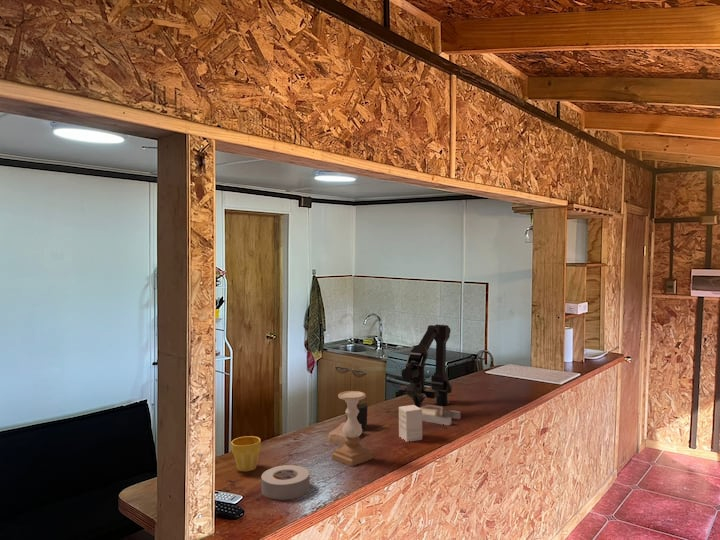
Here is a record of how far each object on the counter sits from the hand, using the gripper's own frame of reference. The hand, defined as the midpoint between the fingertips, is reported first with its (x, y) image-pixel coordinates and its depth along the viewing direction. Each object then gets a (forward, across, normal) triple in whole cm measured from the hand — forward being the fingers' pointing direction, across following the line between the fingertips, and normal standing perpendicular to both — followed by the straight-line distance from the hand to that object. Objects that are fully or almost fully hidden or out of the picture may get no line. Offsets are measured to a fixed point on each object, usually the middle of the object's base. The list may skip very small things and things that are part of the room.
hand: (418, 410), depth 255 cm
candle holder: (+3, +3, -61) cm, 61 cm away
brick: (+3, -11, -44) cm, 46 cm away
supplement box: (+3, +11, -30) cm, 32 cm away
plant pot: (+3, -24, -88) cm, 91 cm away
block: (+3, +7, 0) cm, 7 cm away
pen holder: (+3, -15, -30) cm, 34 cm away
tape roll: (+3, -1, -94) cm, 94 cm away
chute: (+2, +9, 0) cm, 10 cm away
